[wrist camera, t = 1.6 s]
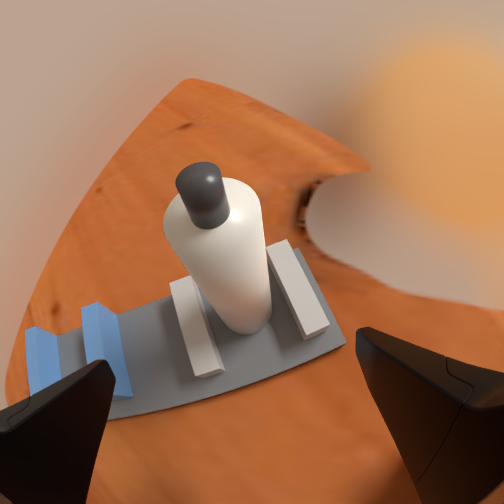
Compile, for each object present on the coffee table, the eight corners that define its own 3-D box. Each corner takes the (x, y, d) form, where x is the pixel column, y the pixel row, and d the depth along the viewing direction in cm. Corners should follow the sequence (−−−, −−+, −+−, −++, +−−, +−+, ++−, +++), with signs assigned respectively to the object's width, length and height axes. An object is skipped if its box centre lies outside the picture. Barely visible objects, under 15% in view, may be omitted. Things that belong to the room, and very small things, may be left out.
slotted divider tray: (344, 344, 20) (357, 332, 16) (57, 425, 17) (29, 423, 13) (297, 252, 24) (299, 225, 21) (44, 343, 21) (19, 332, 18)
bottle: (280, 323, 20) (275, 197, 8) (230, 342, 20) (150, 242, 8) (261, 279, 22) (234, 131, 10) (214, 296, 22) (140, 165, 10)
